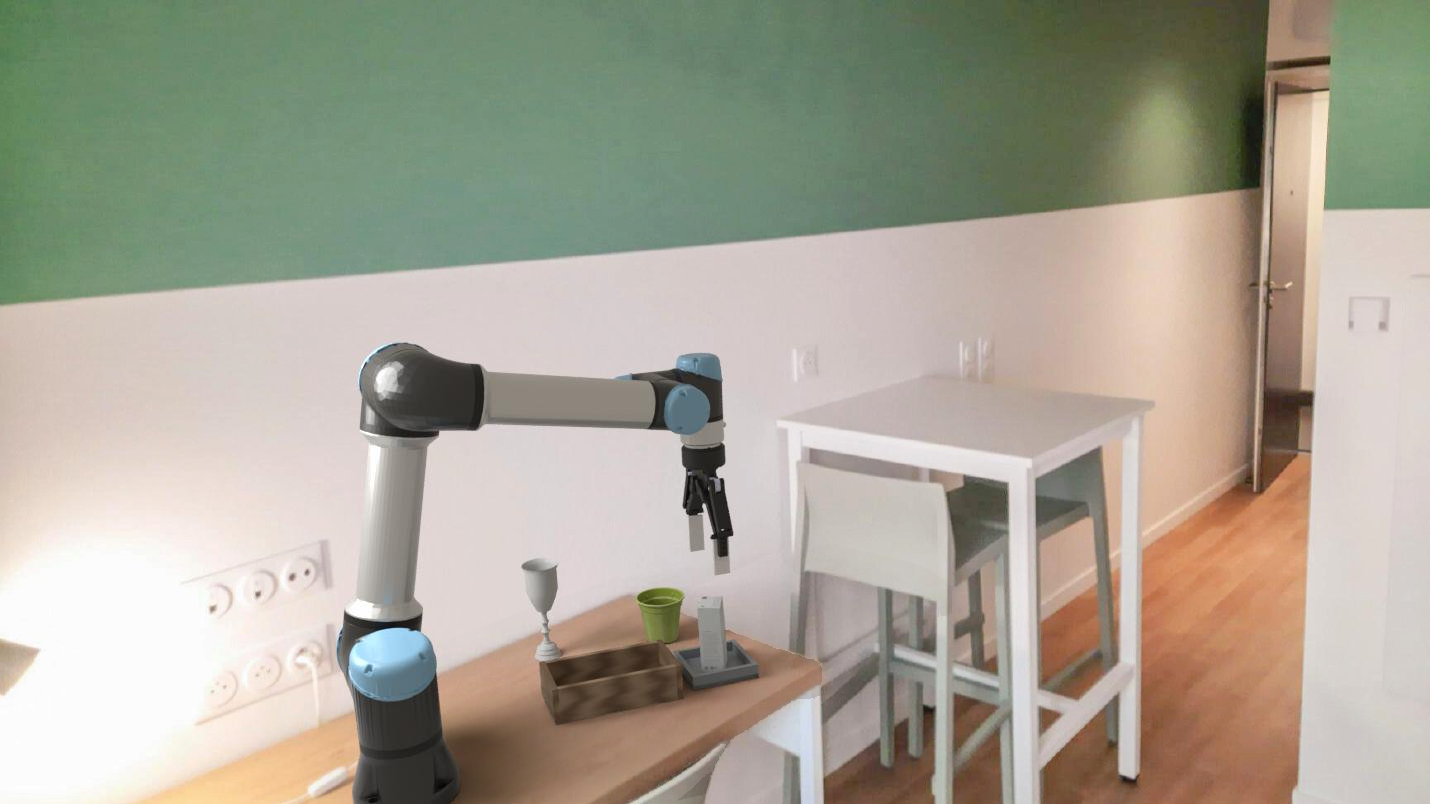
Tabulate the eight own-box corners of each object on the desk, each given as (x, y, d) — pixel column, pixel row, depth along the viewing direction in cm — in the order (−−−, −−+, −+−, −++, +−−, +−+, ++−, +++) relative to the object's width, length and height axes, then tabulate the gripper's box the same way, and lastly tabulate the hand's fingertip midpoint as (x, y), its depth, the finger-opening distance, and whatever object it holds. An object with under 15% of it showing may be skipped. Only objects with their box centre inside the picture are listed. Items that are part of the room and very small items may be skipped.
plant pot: (696, 633, 210) (693, 591, 209) (668, 652, 203) (666, 608, 201) (656, 625, 215) (654, 584, 214) (628, 643, 208) (625, 600, 206)
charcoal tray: (693, 690, 186) (693, 677, 186) (673, 663, 197) (672, 650, 197) (758, 677, 190) (758, 664, 190) (735, 651, 201) (734, 639, 201)
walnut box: (554, 724, 177) (552, 690, 176) (541, 694, 188) (539, 661, 187) (683, 698, 184) (681, 665, 182) (663, 670, 195) (661, 639, 194)
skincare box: (725, 673, 191) (722, 608, 188) (700, 673, 191) (696, 608, 189) (728, 658, 197) (724, 595, 194) (703, 658, 197) (699, 595, 195)
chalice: (558, 664, 200) (550, 571, 196) (523, 662, 201) (515, 570, 198) (571, 647, 207) (564, 557, 203) (537, 646, 208) (529, 557, 205)
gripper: (749, 455, 175) (754, 580, 179) (700, 427, 199) (706, 538, 203) (705, 461, 173) (711, 587, 177) (661, 432, 196) (668, 544, 200)
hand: (709, 561), depth 190 cm, fingers open, 13 cm apart
